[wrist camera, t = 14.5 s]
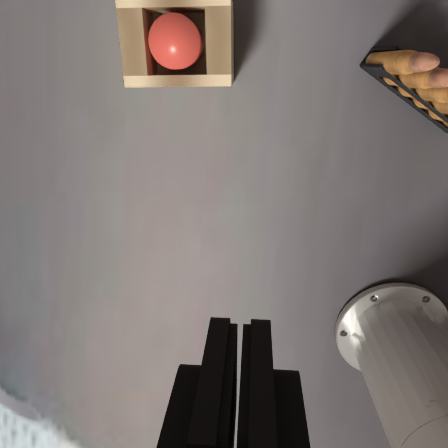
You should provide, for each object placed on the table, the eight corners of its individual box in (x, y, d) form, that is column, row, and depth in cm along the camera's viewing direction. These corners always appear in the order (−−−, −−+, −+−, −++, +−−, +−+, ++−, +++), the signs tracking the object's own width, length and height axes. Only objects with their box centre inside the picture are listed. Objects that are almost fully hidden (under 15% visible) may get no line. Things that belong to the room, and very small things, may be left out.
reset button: (203, 18, 29) (198, 12, 26) (205, 68, 31) (200, 69, 27) (157, 19, 29) (146, 13, 26) (161, 69, 31) (150, 69, 27)
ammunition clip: (358, 65, 33) (414, 66, 22) (372, 46, 33) (438, 37, 22) (447, 133, 35) (539, 165, 24) (462, 116, 35) (564, 140, 24)
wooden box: (233, 6, 32) (230, -8, 26) (233, 82, 34) (231, 86, 28) (140, 8, 32) (114, -6, 26) (146, 83, 35) (124, 87, 28)
